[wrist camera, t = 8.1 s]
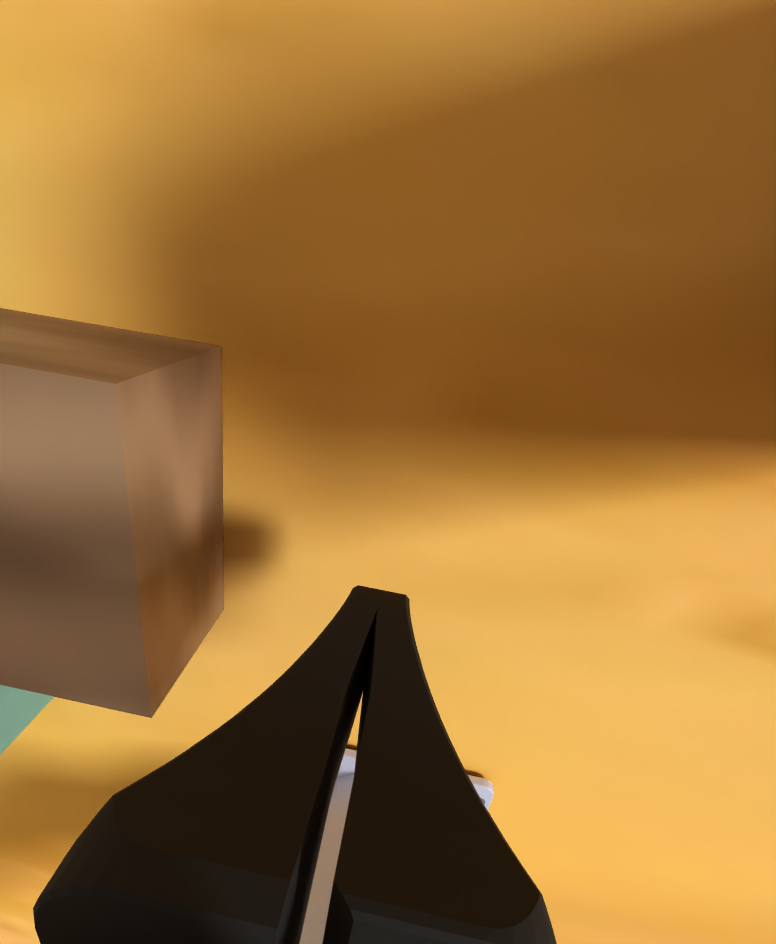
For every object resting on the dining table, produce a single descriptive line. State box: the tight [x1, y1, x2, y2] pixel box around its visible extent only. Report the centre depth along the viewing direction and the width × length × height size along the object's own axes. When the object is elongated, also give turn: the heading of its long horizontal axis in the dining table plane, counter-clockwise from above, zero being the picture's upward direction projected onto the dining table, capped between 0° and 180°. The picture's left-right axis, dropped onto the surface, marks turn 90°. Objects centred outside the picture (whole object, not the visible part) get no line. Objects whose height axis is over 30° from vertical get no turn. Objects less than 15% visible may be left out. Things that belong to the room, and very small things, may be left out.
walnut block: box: [0, 308, 224, 718], centre depth 14 cm, size 10×8×5 cm
